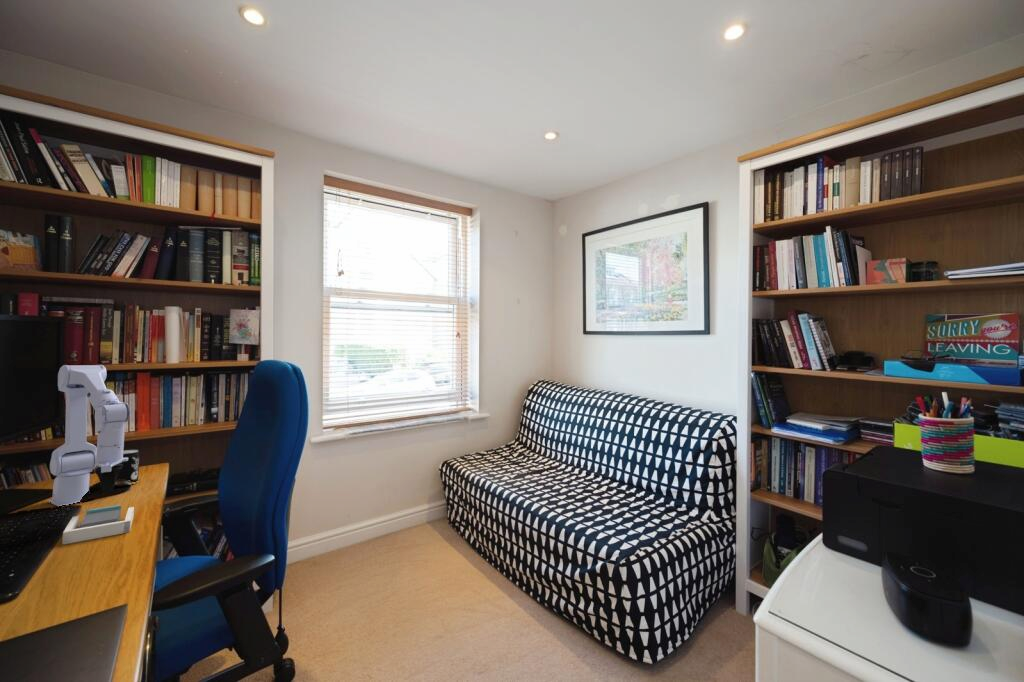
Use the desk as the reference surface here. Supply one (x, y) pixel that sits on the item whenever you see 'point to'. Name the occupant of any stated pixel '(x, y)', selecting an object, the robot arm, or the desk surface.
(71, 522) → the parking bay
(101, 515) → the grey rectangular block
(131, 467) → the beverage can
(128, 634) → the desk surface
